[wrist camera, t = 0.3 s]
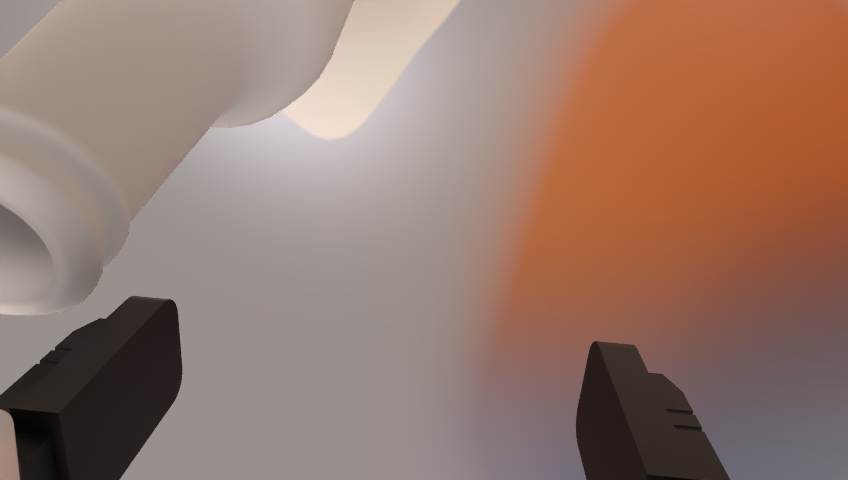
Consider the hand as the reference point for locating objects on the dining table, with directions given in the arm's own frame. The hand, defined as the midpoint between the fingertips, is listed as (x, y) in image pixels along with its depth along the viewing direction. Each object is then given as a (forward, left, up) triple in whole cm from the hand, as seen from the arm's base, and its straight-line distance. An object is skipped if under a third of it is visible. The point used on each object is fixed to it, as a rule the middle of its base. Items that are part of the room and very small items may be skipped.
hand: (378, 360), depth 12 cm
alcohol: (-6, -4, -30) cm, 31 cm away
